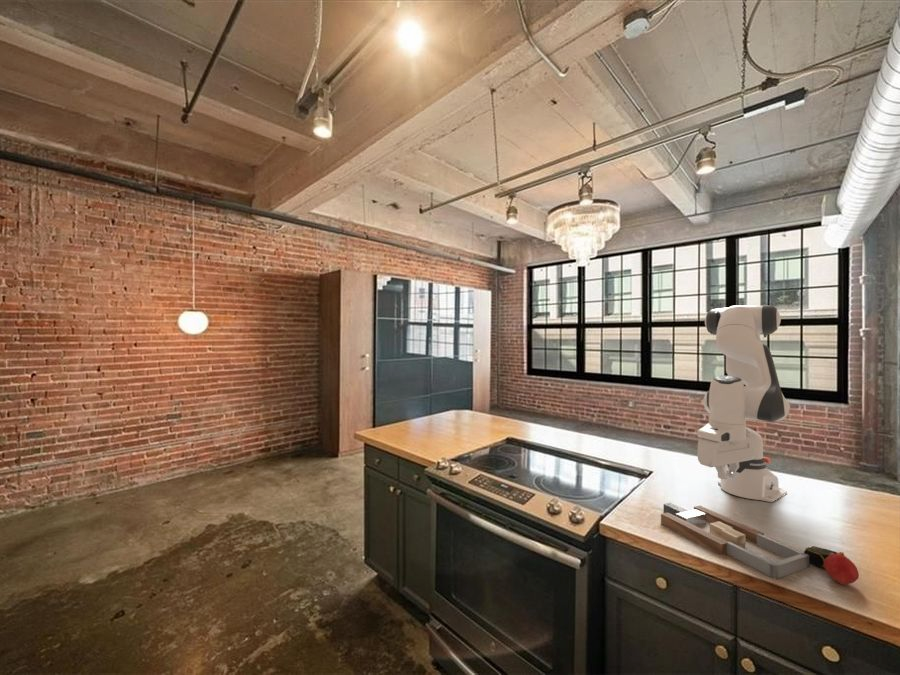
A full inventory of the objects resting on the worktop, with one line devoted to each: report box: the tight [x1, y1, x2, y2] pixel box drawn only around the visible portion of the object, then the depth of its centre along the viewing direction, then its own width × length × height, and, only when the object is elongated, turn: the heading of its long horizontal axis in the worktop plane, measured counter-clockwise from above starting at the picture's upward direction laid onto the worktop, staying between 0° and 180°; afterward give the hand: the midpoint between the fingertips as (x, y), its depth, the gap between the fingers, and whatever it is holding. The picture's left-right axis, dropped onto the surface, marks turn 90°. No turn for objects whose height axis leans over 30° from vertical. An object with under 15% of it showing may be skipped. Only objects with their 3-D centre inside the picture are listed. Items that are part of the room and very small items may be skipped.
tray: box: [726, 534, 810, 580], centre depth 99 cm, size 14×12×3 cm
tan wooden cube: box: [709, 521, 733, 538], centre depth 110 cm, size 4×4×4 cm
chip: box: [721, 528, 747, 548], centre depth 106 cm, size 4×4×4 cm
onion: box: [823, 551, 860, 586], centre depth 90 cm, size 6×6×8 cm
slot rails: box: [660, 505, 765, 556], centre depth 113 cm, size 18×19×3 cm
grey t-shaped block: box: [663, 502, 707, 527], centre depth 122 cm, size 9×4×10 cm
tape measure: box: [803, 545, 838, 569], centre depth 97 cm, size 7×7×4 cm
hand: (726, 477), depth 109 cm, fingers open, 3 cm apart
